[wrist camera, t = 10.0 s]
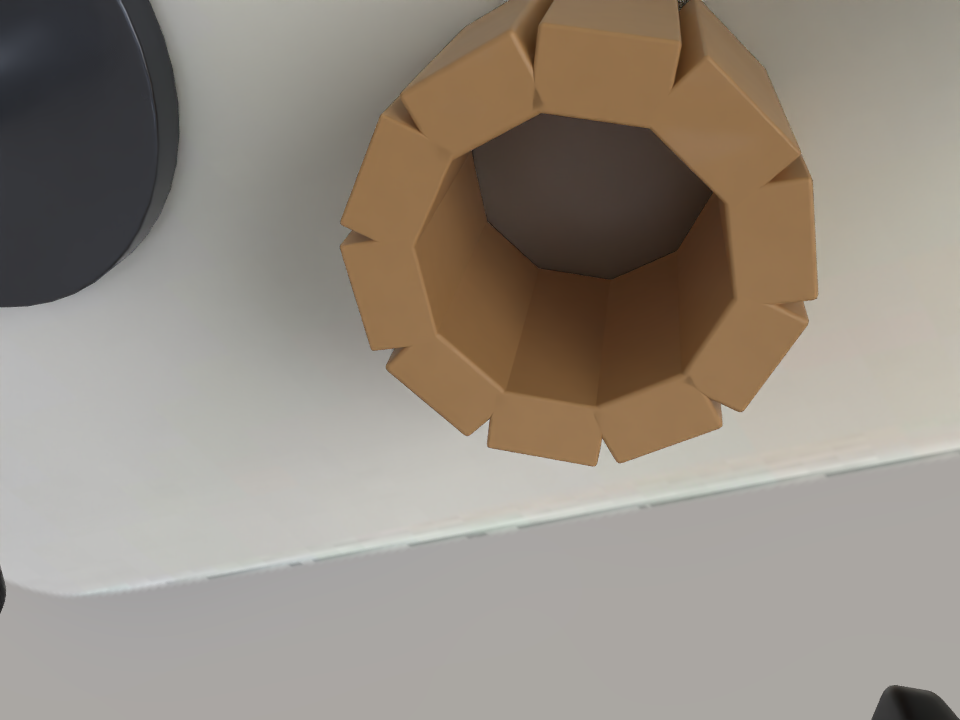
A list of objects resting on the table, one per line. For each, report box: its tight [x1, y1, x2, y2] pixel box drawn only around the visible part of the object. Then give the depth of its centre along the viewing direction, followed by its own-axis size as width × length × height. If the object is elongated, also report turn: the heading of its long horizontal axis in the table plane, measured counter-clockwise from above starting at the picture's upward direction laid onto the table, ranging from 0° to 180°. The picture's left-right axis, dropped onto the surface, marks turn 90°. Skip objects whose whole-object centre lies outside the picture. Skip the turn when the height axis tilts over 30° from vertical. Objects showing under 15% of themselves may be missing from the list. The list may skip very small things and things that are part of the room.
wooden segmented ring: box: [340, 0, 818, 466], centre depth 16 cm, size 7×7×5 cm
